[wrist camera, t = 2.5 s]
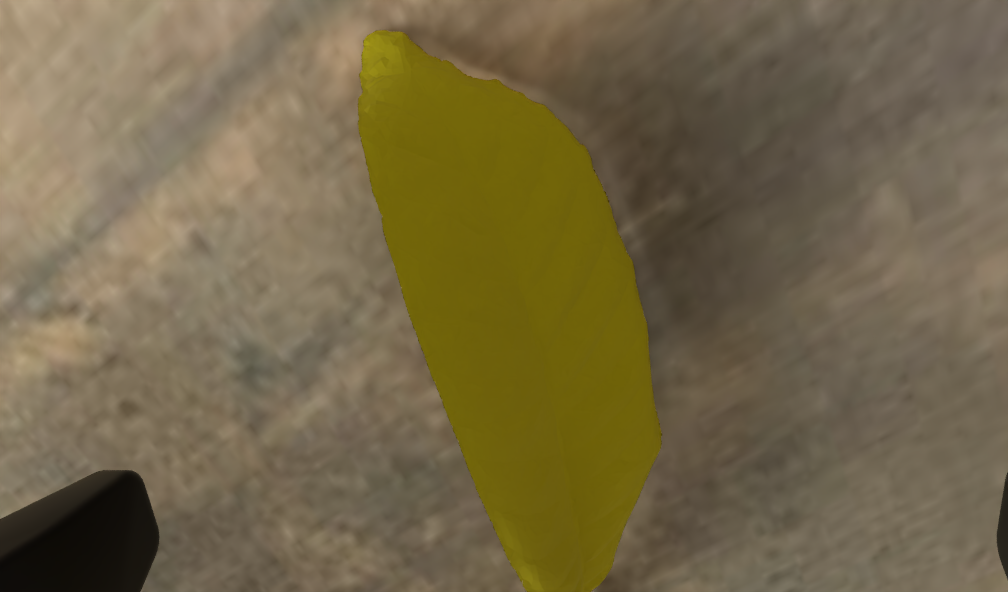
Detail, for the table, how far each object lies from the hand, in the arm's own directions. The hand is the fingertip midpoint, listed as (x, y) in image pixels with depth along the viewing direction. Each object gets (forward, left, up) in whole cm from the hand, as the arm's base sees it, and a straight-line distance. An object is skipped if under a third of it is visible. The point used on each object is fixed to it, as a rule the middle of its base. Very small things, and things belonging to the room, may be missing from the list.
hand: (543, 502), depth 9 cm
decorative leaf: (0, 0, -3) cm, 3 cm away
